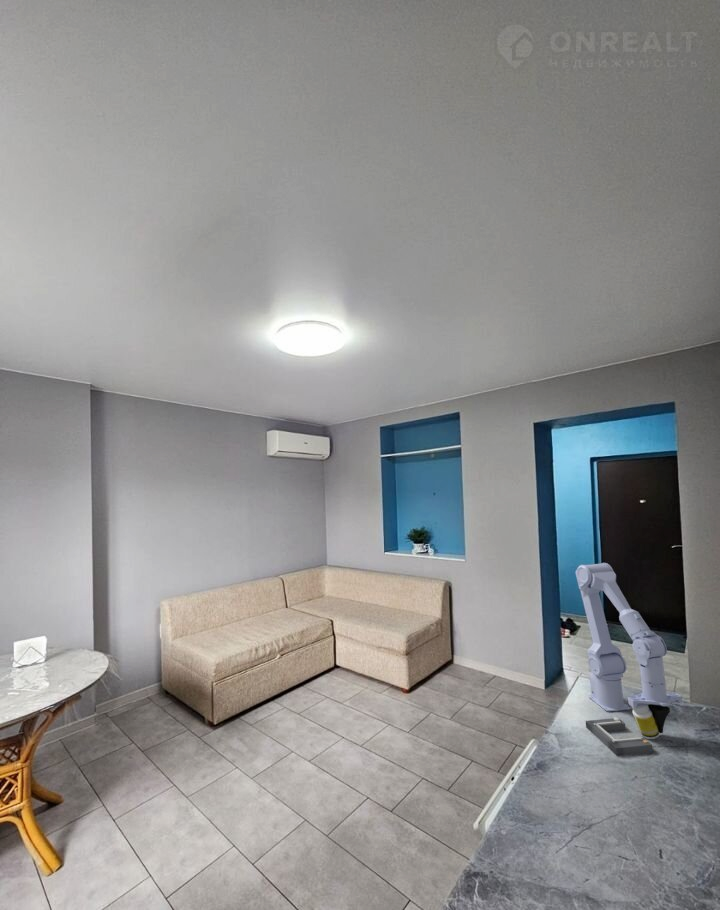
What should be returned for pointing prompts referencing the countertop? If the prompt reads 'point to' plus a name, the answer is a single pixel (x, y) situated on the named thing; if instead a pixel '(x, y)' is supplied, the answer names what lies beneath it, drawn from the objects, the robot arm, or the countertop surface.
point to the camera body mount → (619, 745)
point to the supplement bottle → (645, 721)
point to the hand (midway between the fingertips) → (658, 731)
